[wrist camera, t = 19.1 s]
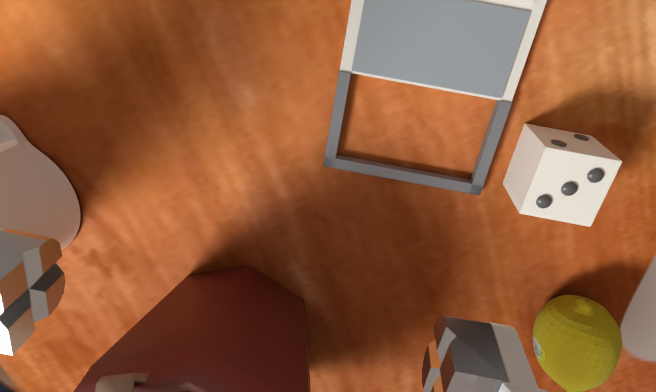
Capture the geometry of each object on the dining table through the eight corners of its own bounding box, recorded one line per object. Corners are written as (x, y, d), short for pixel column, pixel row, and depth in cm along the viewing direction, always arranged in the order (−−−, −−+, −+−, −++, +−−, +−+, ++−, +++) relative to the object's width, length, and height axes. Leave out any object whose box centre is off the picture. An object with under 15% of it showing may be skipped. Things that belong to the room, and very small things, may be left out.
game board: (324, 162, 45) (323, 166, 45) (398, -272, 31) (399, -279, 30) (477, 190, 45) (479, 195, 44) (623, -233, 31) (631, -238, 30)
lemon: (538, 271, 49) (565, 324, 42) (615, 280, 48) (656, 335, 41) (510, 348, 54) (531, 408, 47) (580, 357, 53) (611, 419, 46)
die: (502, 183, 45) (519, 214, 39) (525, 121, 42) (547, 146, 36) (566, 195, 45) (592, 228, 39) (593, 134, 42) (626, 160, 36)
